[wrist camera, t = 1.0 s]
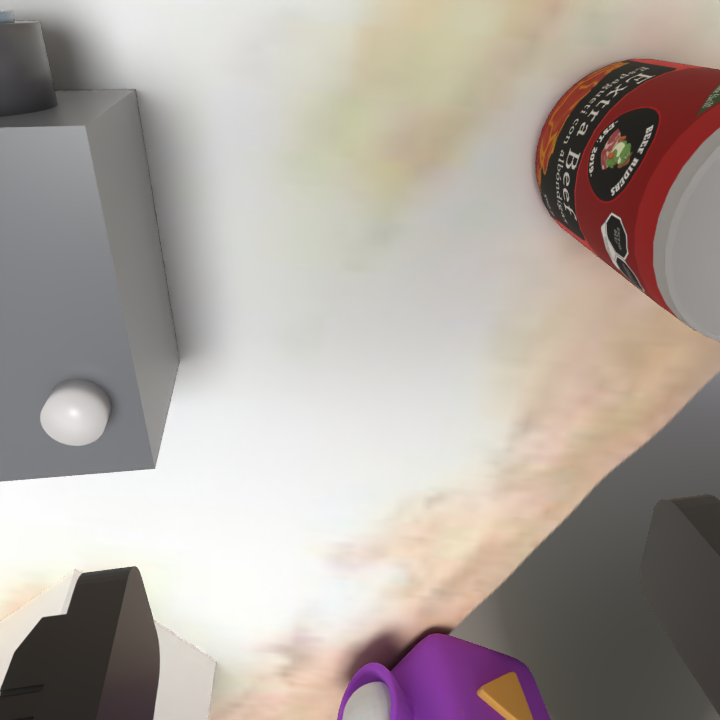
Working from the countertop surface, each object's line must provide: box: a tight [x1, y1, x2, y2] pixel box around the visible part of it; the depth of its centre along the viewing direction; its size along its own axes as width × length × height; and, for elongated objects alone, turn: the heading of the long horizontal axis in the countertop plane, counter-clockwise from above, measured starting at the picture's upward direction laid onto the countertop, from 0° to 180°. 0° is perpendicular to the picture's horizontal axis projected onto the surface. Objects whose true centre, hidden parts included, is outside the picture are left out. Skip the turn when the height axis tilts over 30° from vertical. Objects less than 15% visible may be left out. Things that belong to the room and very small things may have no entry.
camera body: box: [0, 11, 180, 481], centre depth 23 cm, size 15×8×9 cm, turn 0°
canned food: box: [536, 59, 720, 342], centre depth 24 cm, size 8×8×11 cm
